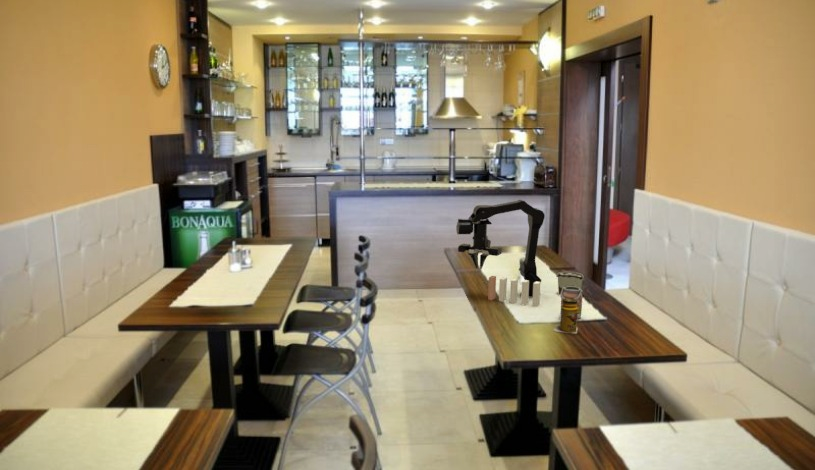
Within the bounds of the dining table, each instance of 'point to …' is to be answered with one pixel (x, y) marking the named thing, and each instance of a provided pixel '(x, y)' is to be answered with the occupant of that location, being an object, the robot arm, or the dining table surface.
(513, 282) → the domino
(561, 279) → the food container
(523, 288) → the domino
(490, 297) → the domino
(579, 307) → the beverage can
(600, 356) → the dining table surface
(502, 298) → the domino
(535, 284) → the domino
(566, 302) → the condiment
